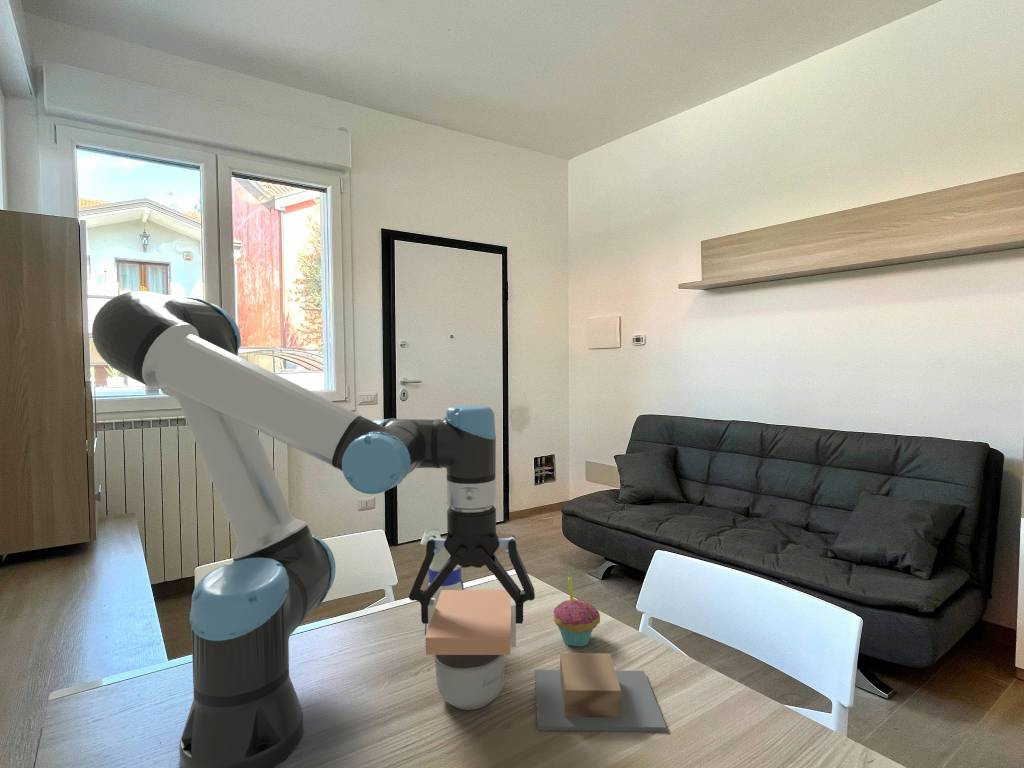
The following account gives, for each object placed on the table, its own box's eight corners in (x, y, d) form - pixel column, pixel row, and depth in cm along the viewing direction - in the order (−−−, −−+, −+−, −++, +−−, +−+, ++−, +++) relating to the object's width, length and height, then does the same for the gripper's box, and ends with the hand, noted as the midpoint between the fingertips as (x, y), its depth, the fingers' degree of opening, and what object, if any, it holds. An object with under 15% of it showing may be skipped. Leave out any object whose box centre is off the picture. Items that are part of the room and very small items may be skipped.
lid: (425, 654, 79) (425, 637, 79) (441, 604, 95) (441, 590, 95) (510, 654, 79) (510, 637, 79) (511, 604, 95) (511, 590, 95)
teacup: (495, 724, 79) (495, 670, 79) (423, 715, 82) (423, 661, 81) (514, 670, 93) (514, 624, 93) (452, 663, 95) (452, 617, 95)
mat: (537, 730, 78) (537, 726, 78) (534, 673, 92) (534, 670, 92) (666, 731, 78) (666, 727, 78) (643, 674, 92) (643, 670, 92)
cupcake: (543, 639, 103) (544, 575, 103) (574, 624, 109) (574, 564, 108) (578, 657, 97) (579, 590, 96) (609, 641, 103) (609, 577, 102)
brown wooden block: (565, 717, 80) (565, 690, 80) (560, 677, 90) (560, 653, 90) (620, 717, 80) (621, 690, 80) (609, 677, 90) (609, 653, 90)
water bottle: (422, 621, 110) (421, 497, 109) (465, 619, 111) (465, 496, 110) (419, 643, 102) (418, 508, 101) (466, 640, 103) (466, 507, 101)
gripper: (387, 513, 82) (389, 655, 83) (551, 512, 82) (551, 655, 83) (398, 499, 90) (400, 630, 91) (548, 499, 89) (549, 630, 90)
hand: (472, 642), depth 87 cm, fingers closed on lid, 12 cm apart
